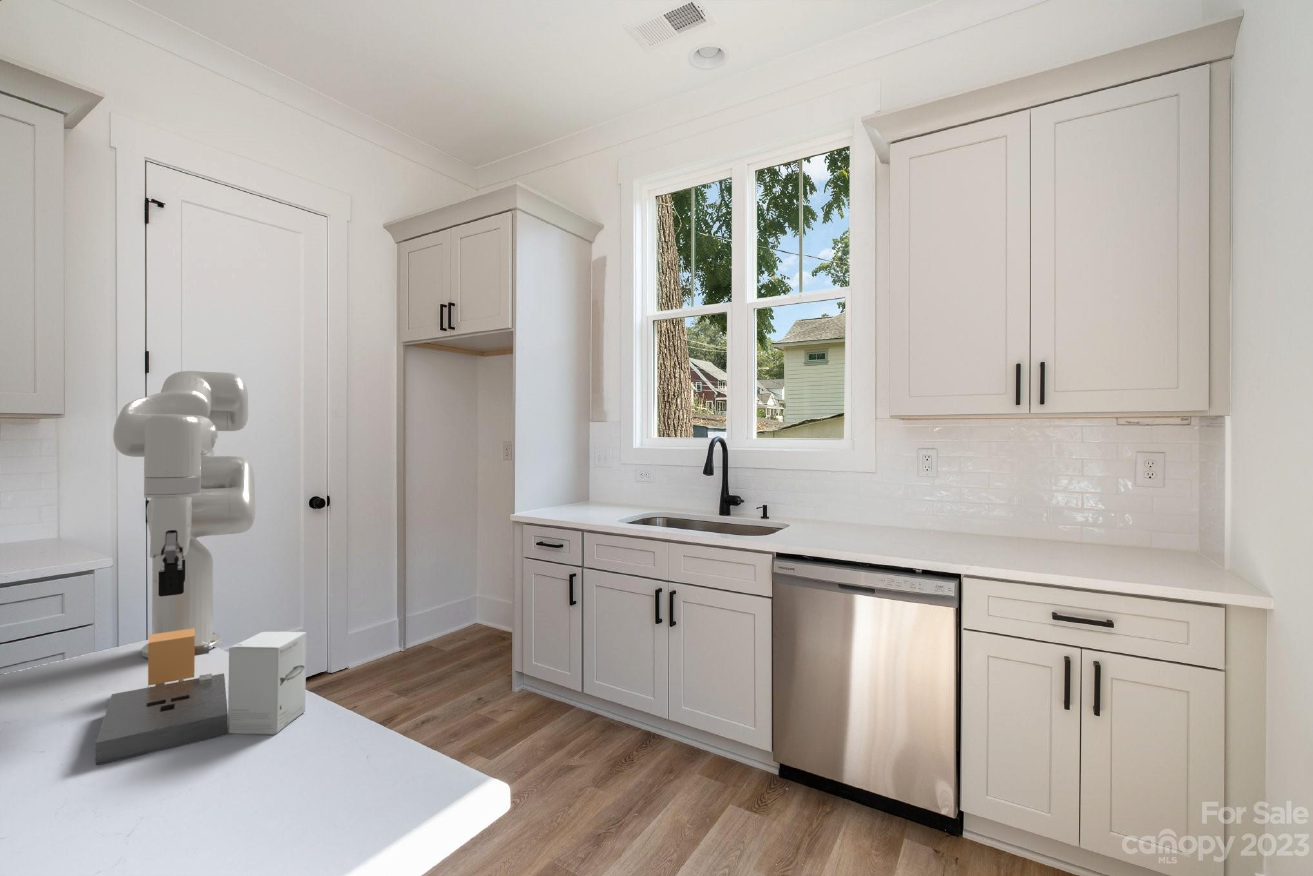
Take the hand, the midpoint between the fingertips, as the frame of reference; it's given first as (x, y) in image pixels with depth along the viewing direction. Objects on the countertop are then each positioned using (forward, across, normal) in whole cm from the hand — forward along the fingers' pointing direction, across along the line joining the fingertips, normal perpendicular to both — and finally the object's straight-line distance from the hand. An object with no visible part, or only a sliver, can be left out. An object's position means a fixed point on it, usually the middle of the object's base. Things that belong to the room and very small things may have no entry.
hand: (172, 589), depth 103 cm
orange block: (+17, -1, 0) cm, 17 cm away
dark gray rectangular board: (+17, +15, 0) cm, 23 cm away
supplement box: (+17, +23, +12) cm, 31 cm away
